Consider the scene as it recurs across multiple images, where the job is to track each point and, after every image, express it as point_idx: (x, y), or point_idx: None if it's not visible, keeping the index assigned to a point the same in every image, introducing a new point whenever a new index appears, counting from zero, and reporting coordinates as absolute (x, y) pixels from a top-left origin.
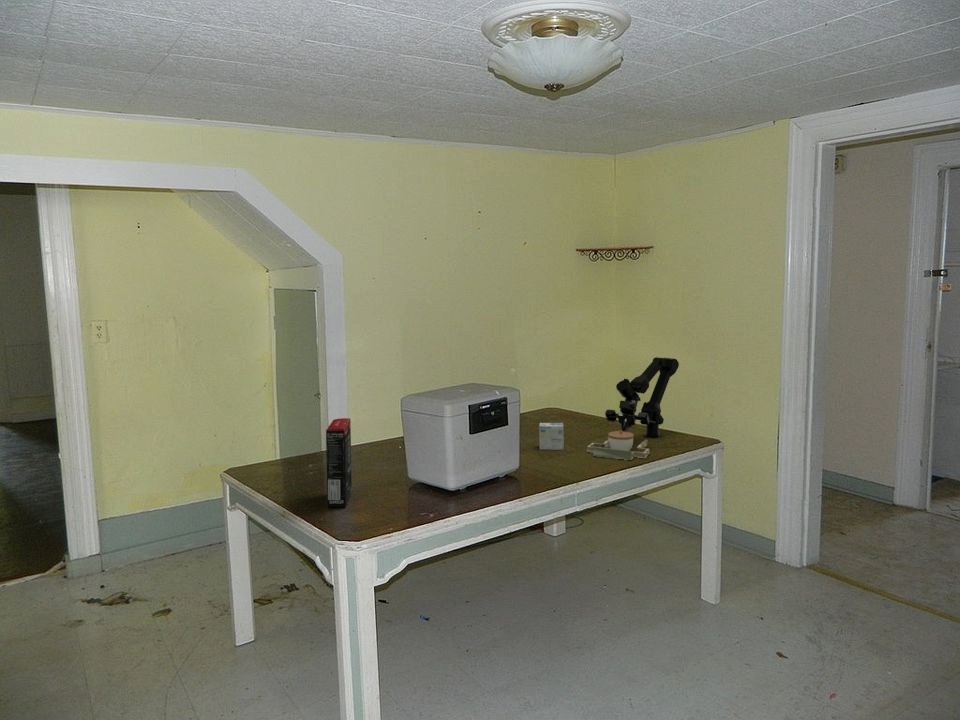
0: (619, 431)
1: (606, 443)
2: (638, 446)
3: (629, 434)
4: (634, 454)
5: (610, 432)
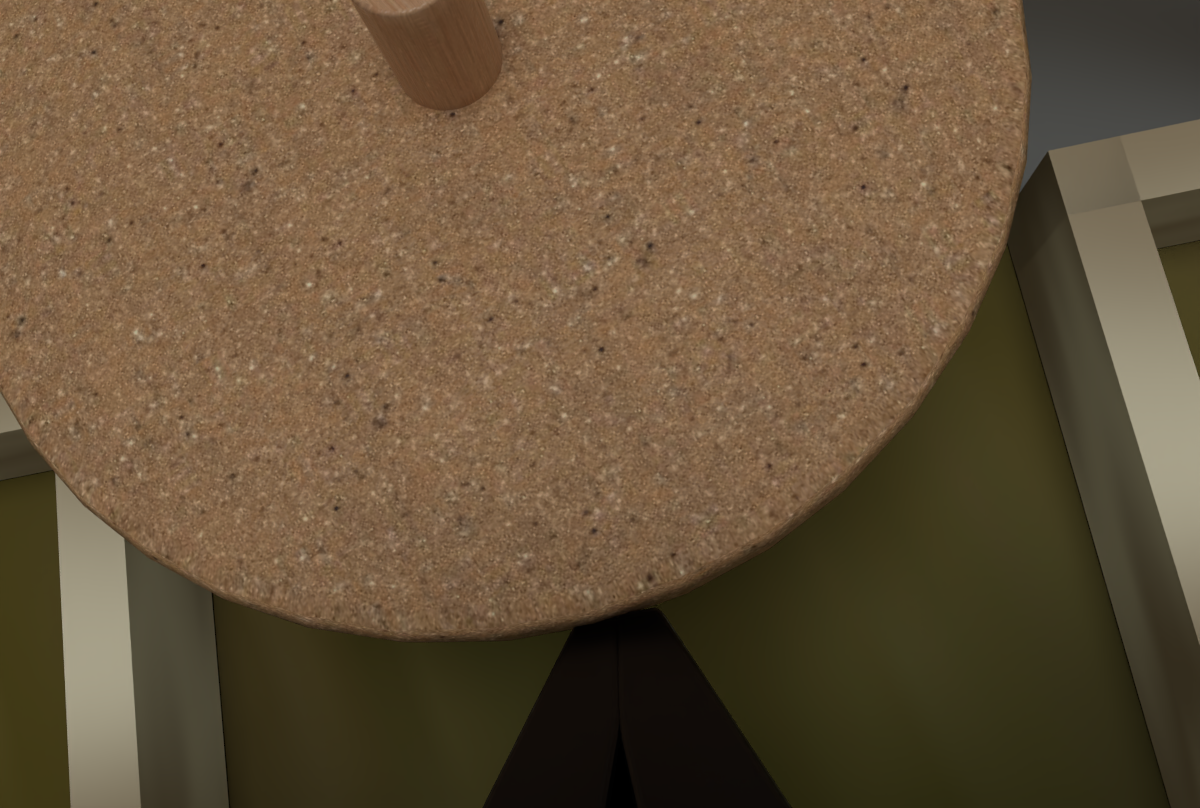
0: (704, 410)
1: (1110, 400)
2: (101, 527)
3: (93, 175)
4: None
5: (978, 22)
